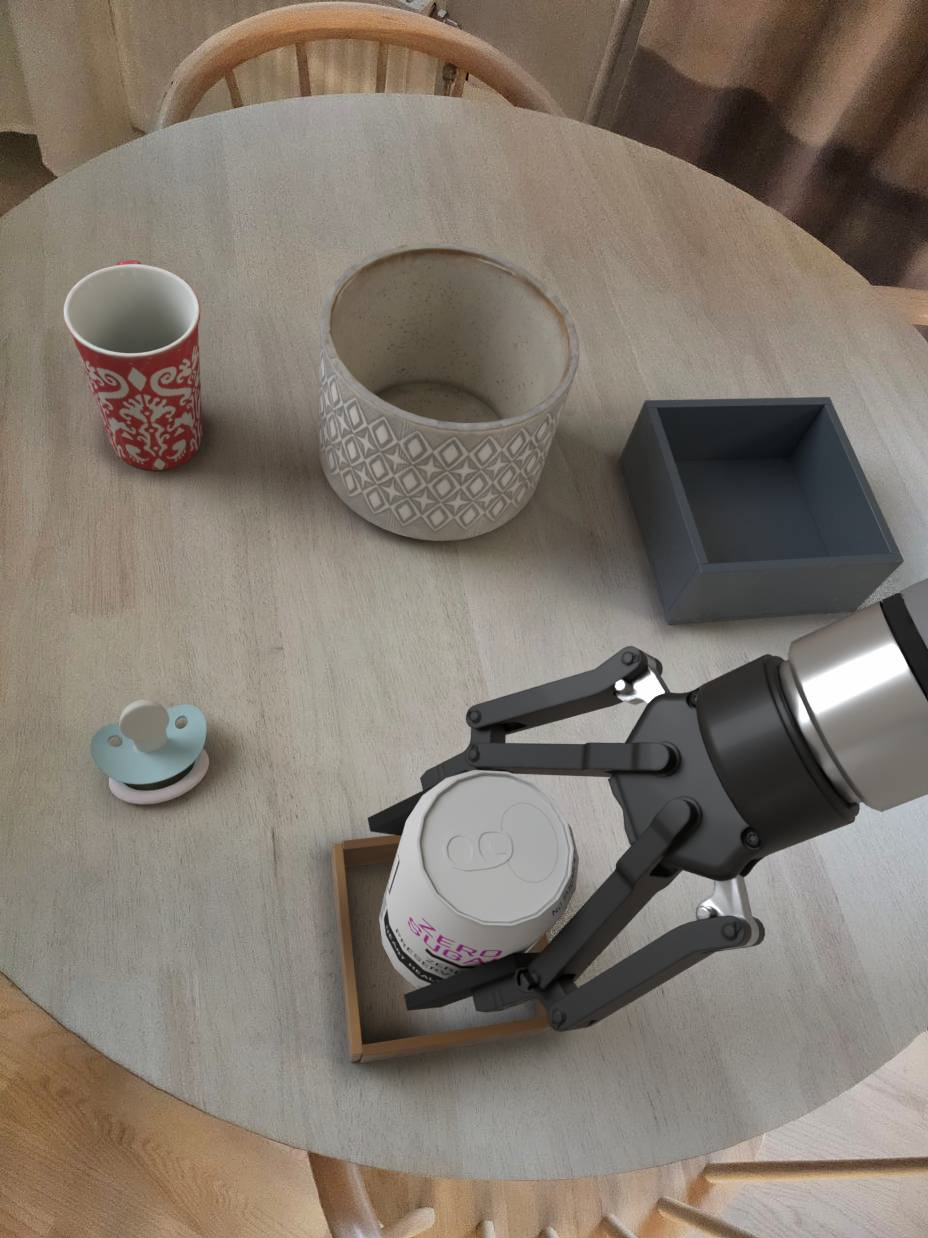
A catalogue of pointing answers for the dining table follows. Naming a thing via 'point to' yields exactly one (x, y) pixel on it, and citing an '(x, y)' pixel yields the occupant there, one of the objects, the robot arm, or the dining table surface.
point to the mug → (141, 360)
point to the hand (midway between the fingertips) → (403, 910)
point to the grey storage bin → (754, 509)
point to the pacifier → (152, 750)
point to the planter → (440, 388)
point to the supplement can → (476, 875)
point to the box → (344, 857)
